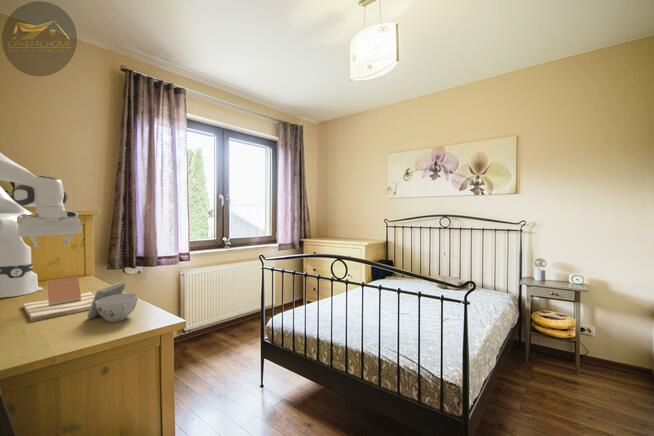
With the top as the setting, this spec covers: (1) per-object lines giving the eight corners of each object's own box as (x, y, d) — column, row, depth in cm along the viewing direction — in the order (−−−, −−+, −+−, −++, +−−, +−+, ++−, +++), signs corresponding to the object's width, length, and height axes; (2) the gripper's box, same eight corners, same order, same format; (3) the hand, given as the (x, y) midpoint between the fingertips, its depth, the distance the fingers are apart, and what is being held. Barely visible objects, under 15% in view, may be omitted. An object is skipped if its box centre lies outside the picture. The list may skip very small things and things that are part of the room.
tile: (46, 281, 119) (46, 280, 119) (77, 277, 127) (78, 276, 126) (48, 306, 116) (49, 305, 115) (80, 300, 124) (81, 299, 123)
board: (23, 306, 119) (23, 303, 119) (90, 295, 137) (90, 292, 137) (32, 321, 103) (32, 317, 103) (107, 306, 120) (106, 302, 120)
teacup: (91, 320, 105) (90, 298, 105) (130, 311, 115) (130, 291, 115) (104, 330, 96) (104, 306, 96) (145, 319, 106) (145, 297, 105)
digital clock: (114, 305, 122) (114, 280, 122) (134, 306, 121) (134, 281, 121) (78, 319, 106) (78, 290, 105) (101, 320, 105) (101, 291, 105)
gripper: (19, 213, 113) (20, 248, 113) (82, 213, 131) (84, 243, 131) (13, 214, 116) (15, 248, 116) (76, 213, 134) (77, 243, 134)
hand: (52, 245), depth 124 cm, fingers open, 8 cm apart
